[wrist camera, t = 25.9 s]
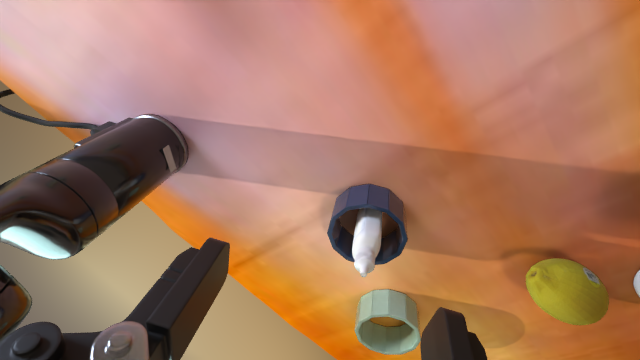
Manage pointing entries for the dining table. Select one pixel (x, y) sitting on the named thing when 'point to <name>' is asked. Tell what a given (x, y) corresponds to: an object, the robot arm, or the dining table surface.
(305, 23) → the dining table surface
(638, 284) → the fruit juice
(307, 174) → the dining table surface
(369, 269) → the eye dropper bottle
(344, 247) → the slate cup
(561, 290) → the lemon
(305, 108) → the dining table surface
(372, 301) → the celadon cup
